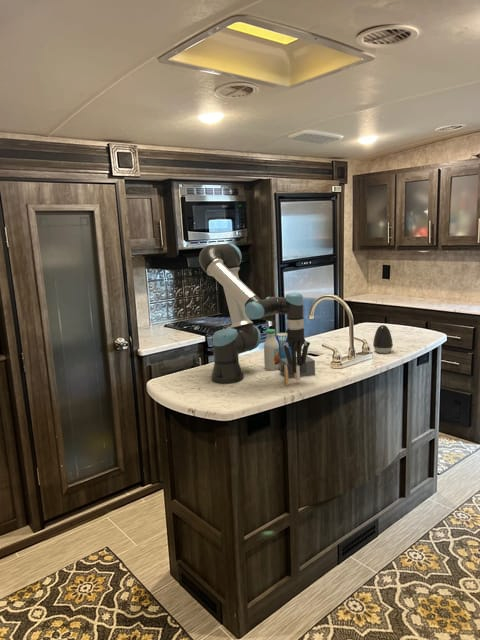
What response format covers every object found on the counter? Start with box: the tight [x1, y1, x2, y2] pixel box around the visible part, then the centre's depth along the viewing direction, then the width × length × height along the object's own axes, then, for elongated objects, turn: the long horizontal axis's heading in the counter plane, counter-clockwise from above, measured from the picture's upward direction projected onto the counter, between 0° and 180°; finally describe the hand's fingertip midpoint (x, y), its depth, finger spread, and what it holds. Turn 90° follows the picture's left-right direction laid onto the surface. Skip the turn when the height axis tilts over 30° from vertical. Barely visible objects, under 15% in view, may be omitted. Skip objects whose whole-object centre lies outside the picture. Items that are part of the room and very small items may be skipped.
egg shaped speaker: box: [372, 324, 394, 354], centre depth 254 cm, size 10×10×15 cm
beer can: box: [275, 332, 292, 359], centre depth 242 cm, size 8×8×16 cm
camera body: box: [278, 355, 316, 379], centre depth 225 cm, size 15×10×8 cm, turn 104°
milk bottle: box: [263, 328, 280, 371], centre depth 235 cm, size 8×8×20 cm
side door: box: [283, 364, 289, 386], centre depth 212 cm, size 12×2×6 cm, turn 178°
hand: (297, 379), depth 211 cm, fingers closed
